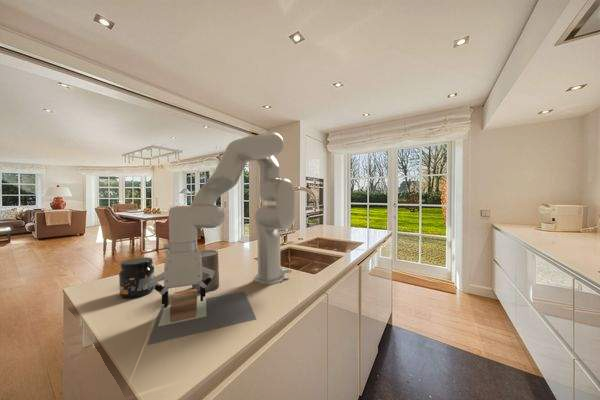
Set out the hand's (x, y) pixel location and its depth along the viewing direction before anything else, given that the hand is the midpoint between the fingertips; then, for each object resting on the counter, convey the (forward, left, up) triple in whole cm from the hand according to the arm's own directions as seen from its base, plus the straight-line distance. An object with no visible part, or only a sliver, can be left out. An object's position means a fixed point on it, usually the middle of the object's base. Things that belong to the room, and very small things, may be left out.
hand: (184, 302), depth 67 cm
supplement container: (+17, -23, -3) cm, 29 cm away
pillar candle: (-6, -17, -3) cm, 18 cm away
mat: (-6, +3, -3) cm, 8 cm away
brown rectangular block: (0, 0, -2) cm, 2 cm away
